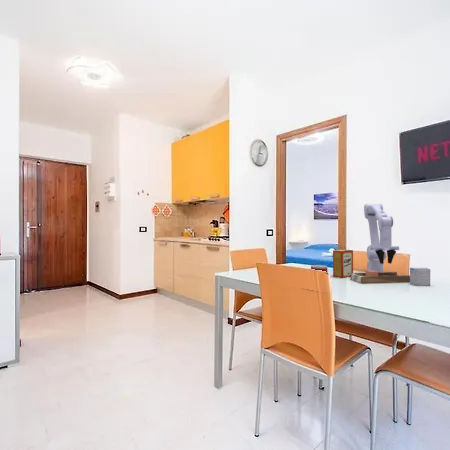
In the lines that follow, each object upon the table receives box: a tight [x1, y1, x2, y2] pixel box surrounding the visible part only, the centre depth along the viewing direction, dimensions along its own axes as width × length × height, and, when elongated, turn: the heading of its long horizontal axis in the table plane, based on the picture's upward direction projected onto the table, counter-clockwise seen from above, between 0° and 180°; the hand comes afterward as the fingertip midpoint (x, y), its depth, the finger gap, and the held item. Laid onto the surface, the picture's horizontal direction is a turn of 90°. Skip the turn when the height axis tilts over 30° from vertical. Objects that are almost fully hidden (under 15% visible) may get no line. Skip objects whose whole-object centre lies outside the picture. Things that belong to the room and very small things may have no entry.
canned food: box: [310, 264, 328, 273], centre depth 152 cm, size 8×8×11 cm
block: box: [365, 269, 378, 277], centre depth 168 cm, size 4×4×4 cm
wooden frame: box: [350, 271, 410, 285], centre depth 168 cm, size 12×27×4 cm, turn 95°
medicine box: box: [409, 267, 431, 287], centre depth 156 cm, size 8×4×9 cm, turn 84°
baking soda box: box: [332, 248, 354, 279], centre depth 182 cm, size 10×6×16 cm
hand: (385, 263), depth 168 cm, fingers open, 4 cm apart
